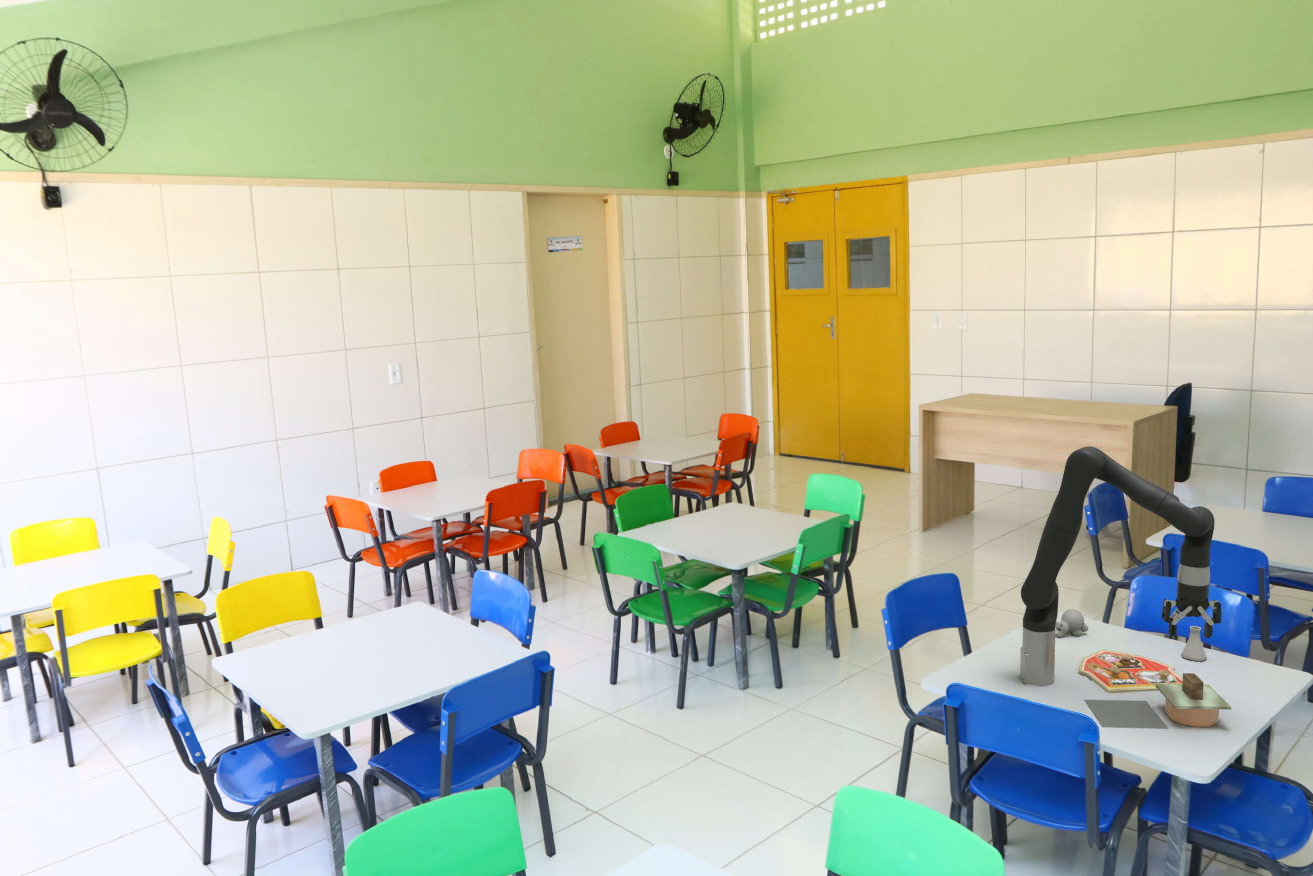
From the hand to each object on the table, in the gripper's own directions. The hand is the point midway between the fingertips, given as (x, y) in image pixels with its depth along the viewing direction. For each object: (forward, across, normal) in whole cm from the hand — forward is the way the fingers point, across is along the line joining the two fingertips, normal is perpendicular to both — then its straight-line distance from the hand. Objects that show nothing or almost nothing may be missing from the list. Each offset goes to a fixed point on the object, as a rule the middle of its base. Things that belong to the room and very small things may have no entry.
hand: (1190, 637), depth 257 cm
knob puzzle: (+24, -6, +30) cm, 39 cm away
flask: (+23, +18, +42) cm, 51 cm away
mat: (+23, -16, 0) cm, 28 cm away
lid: (+17, +1, -1) cm, 17 cm away
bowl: (+23, +1, -1) cm, 23 cm away
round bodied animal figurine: (+24, -15, +60) cm, 66 cm away
